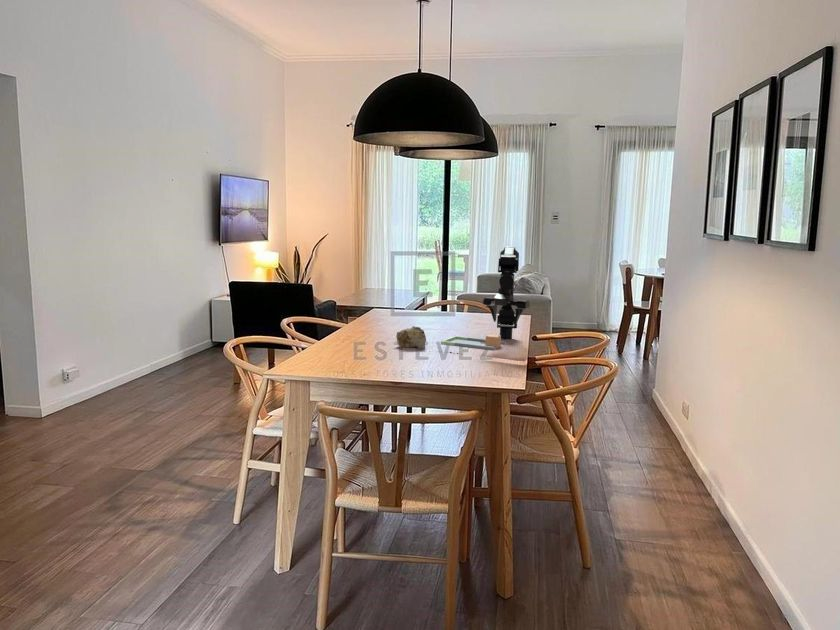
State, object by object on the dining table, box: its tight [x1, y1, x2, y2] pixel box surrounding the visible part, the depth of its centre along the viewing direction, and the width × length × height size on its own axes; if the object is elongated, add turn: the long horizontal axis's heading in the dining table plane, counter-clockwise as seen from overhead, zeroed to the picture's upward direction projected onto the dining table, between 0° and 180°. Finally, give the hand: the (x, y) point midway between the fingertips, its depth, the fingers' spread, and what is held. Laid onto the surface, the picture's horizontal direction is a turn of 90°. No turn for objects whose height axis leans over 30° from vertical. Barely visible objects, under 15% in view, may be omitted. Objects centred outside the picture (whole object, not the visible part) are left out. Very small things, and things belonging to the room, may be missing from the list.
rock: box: [396, 325, 427, 350], centre depth 269 cm, size 12×7×10 cm, turn 72°
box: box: [440, 335, 506, 351], centre depth 271 cm, size 15×24×3 cm, turn 63°
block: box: [484, 333, 502, 349], centre depth 266 cm, size 5×5×4 cm
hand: (505, 323), depth 262 cm, fingers open, 9 cm apart
